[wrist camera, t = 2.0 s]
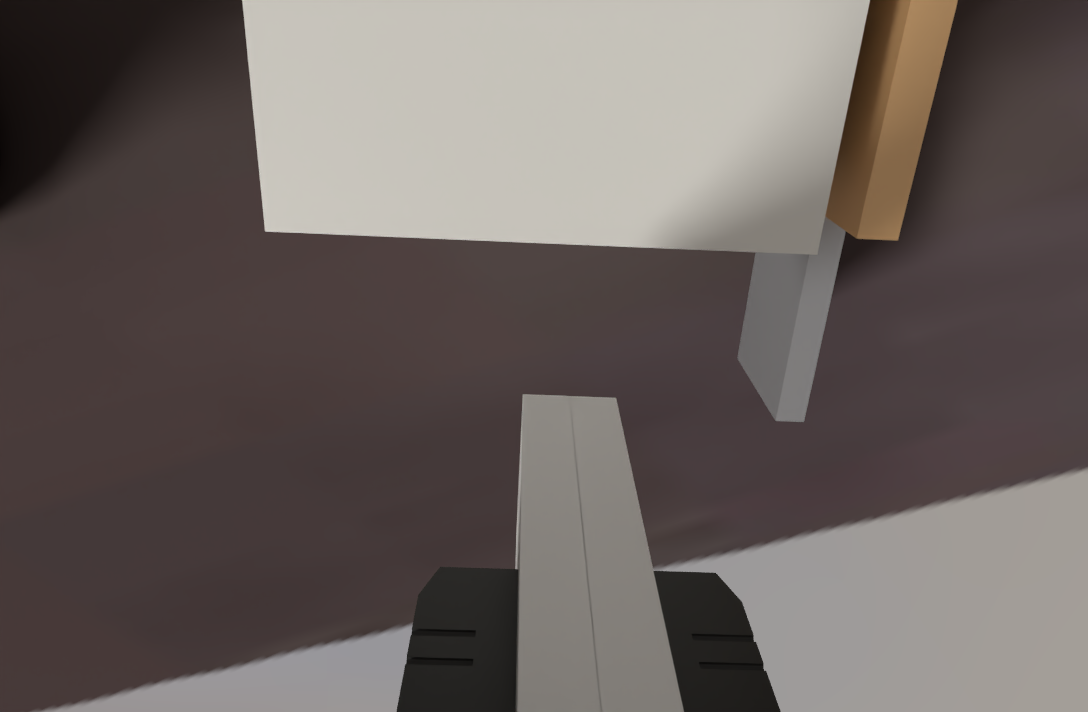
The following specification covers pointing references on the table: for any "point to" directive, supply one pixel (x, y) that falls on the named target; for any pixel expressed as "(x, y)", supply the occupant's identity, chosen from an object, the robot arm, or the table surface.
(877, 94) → the door
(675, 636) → the robot arm
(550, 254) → the table surface
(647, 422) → the table surface
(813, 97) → the housing
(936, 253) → the table surface
